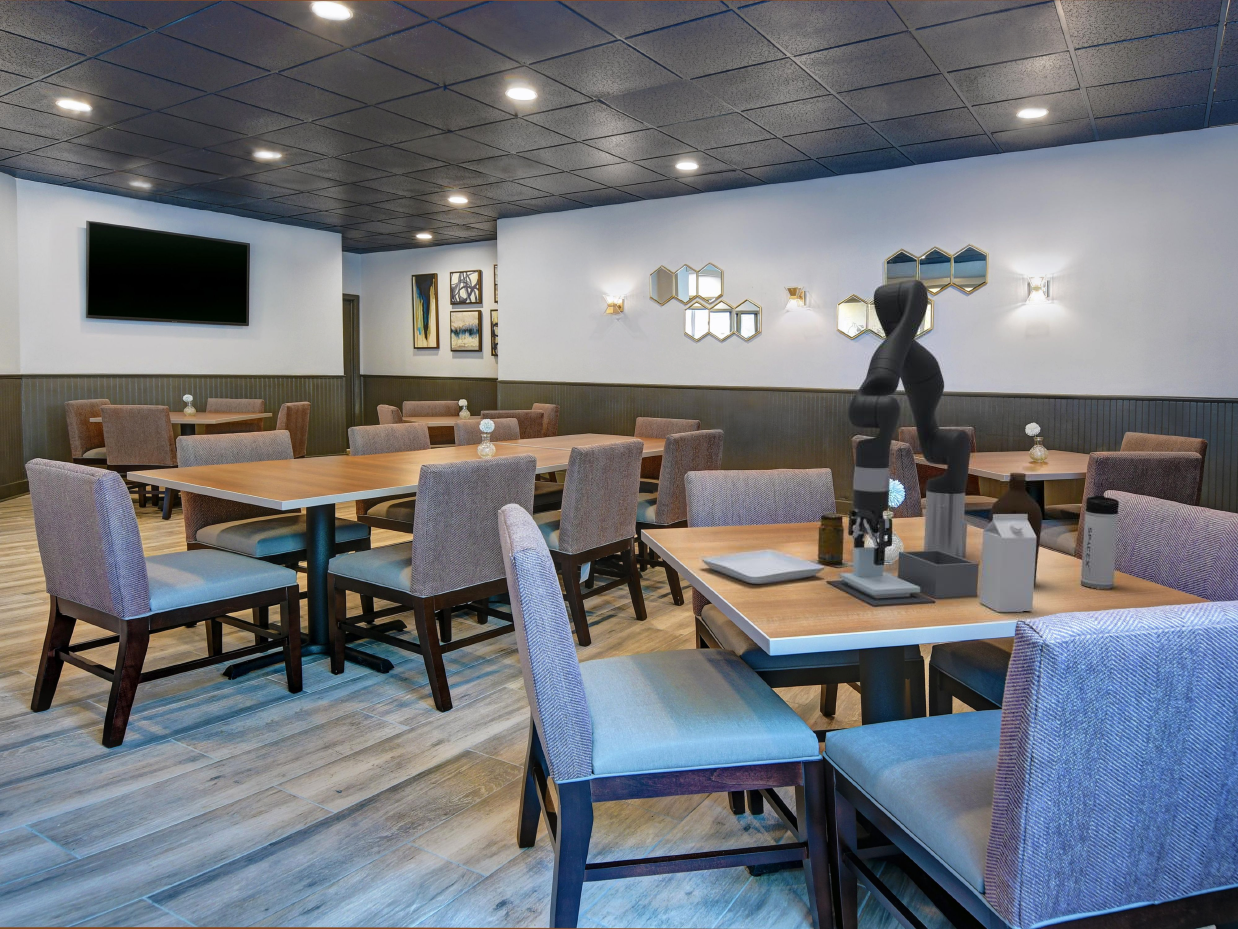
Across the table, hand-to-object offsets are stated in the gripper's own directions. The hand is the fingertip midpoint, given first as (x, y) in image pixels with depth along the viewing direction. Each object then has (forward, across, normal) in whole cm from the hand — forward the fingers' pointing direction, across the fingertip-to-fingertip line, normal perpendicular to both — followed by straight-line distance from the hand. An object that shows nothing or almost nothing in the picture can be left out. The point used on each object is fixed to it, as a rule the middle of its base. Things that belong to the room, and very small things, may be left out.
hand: (868, 560), depth 178 cm
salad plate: (+6, +16, +18) cm, 25 cm away
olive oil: (+6, -4, -34) cm, 35 cm away
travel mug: (+6, -10, -51) cm, 52 cm away
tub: (+6, -4, -14) cm, 16 cm away
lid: (+6, -4, 0) cm, 7 cm away
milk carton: (+6, -21, -19) cm, 28 cm away
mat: (+6, -4, 0) cm, 7 cm away
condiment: (+6, +24, -4) cm, 25 cm away
